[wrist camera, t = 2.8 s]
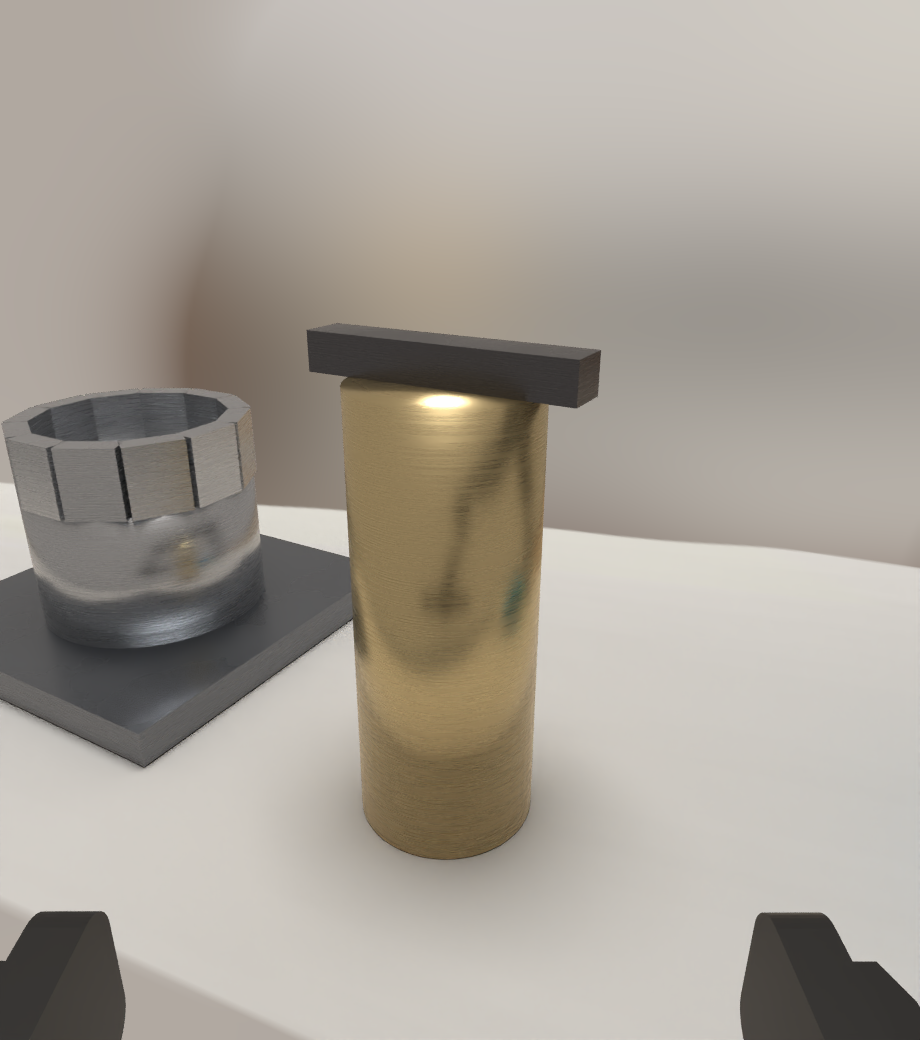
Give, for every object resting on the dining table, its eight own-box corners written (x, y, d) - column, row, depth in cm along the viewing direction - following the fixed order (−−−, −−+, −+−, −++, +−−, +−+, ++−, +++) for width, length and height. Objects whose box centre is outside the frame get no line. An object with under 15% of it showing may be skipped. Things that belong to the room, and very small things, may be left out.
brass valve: (392, 714, 27) (378, 313, 22) (591, 786, 24) (628, 337, 19) (297, 803, 23) (254, 341, 18) (520, 903, 20) (542, 376, 15)
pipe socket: (174, 532, 41) (149, 364, 37) (388, 592, 35) (381, 398, 32) (-97, 652, 30) (-163, 433, 27) (144, 766, 24) (96, 504, 21)
